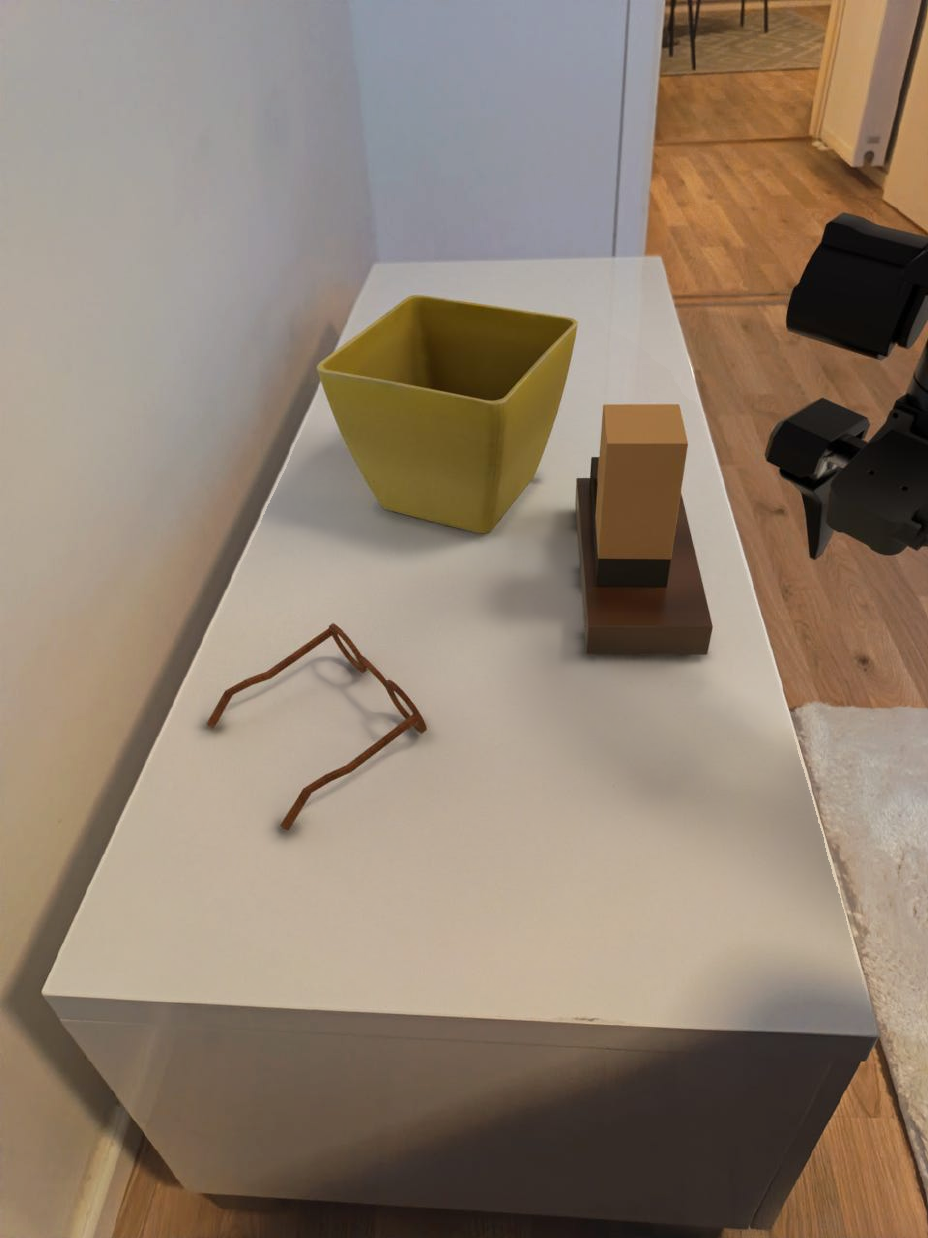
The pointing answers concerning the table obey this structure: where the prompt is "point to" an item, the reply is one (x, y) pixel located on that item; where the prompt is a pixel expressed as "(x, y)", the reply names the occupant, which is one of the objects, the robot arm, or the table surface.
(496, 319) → the flower pot
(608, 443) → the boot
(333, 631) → the glasses
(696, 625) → the brown wooden slab
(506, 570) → the table surface
